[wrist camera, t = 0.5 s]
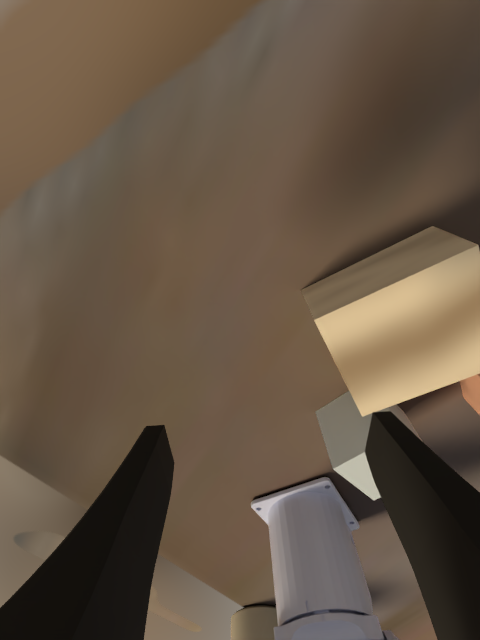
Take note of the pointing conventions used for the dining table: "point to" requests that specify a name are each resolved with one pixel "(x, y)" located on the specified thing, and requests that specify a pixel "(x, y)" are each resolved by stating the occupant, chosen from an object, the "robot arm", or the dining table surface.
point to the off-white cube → (352, 440)
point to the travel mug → (254, 623)
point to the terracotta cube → (472, 391)
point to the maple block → (403, 318)
